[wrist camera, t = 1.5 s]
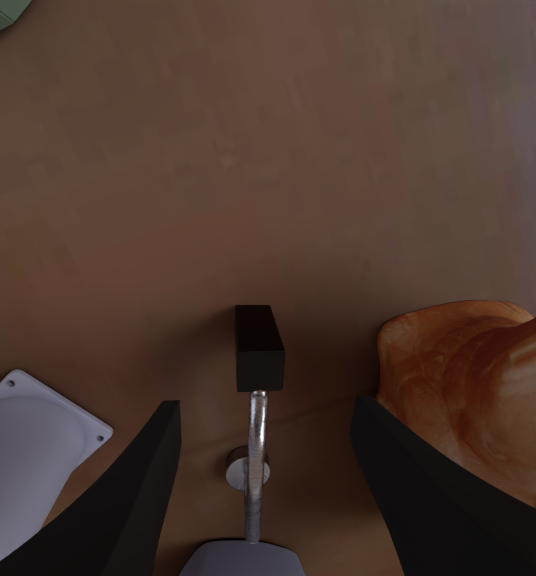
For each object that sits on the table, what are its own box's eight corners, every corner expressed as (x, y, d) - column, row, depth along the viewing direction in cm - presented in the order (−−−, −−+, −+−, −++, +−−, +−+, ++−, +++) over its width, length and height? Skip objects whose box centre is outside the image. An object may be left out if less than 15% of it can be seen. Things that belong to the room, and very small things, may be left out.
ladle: (267, 476, 26) (279, 563, 20) (225, 479, 26) (224, 569, 20) (278, 304, 21) (298, 352, 15) (226, 304, 21) (225, 354, 14)
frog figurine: (548, 231, 22) (1141, 318, 8) (491, 491, 30) (718, 756, 16) (363, 254, 20) (659, 405, 6) (359, 517, 29) (481, 827, 15)
